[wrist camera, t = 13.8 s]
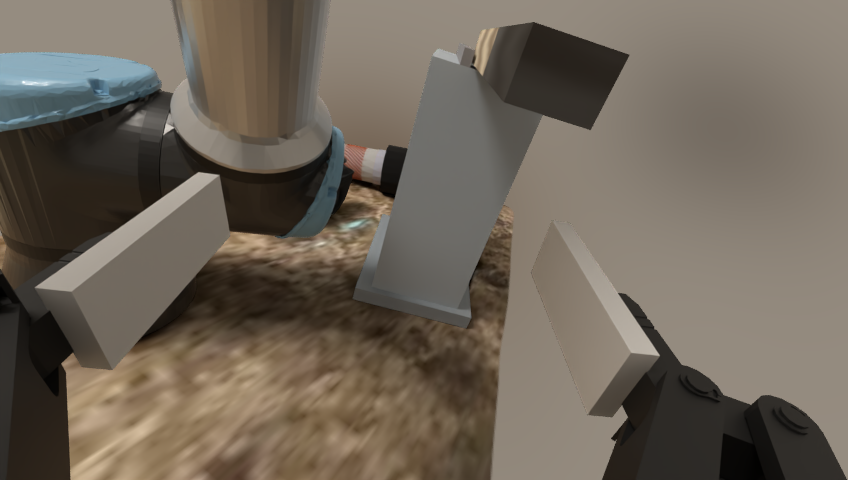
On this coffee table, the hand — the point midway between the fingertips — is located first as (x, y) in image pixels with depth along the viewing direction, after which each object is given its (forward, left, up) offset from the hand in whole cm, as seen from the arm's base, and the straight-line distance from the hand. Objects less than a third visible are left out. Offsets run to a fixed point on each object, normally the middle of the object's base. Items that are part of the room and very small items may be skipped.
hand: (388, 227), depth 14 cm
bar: (-4, +17, +5) cm, 18 cm away
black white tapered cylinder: (-41, +47, -26) cm, 67 cm away
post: (-13, +32, -25) cm, 43 cm away
